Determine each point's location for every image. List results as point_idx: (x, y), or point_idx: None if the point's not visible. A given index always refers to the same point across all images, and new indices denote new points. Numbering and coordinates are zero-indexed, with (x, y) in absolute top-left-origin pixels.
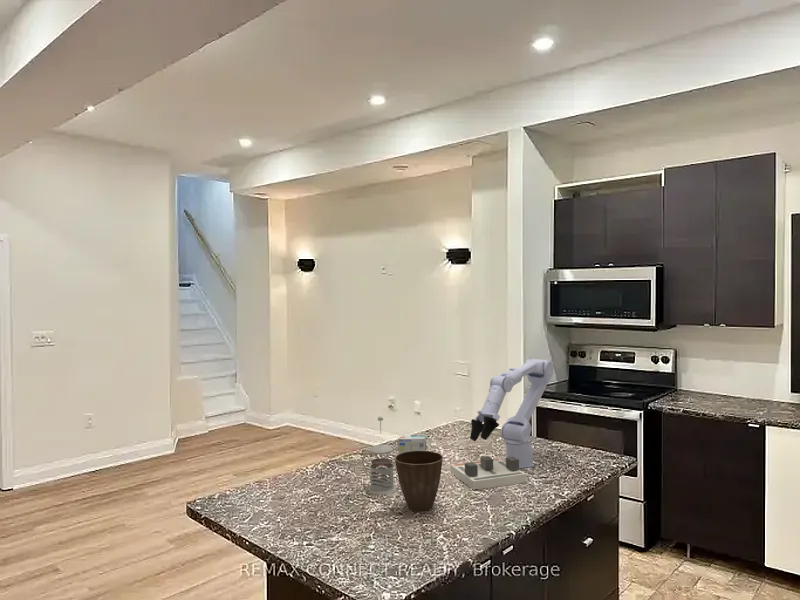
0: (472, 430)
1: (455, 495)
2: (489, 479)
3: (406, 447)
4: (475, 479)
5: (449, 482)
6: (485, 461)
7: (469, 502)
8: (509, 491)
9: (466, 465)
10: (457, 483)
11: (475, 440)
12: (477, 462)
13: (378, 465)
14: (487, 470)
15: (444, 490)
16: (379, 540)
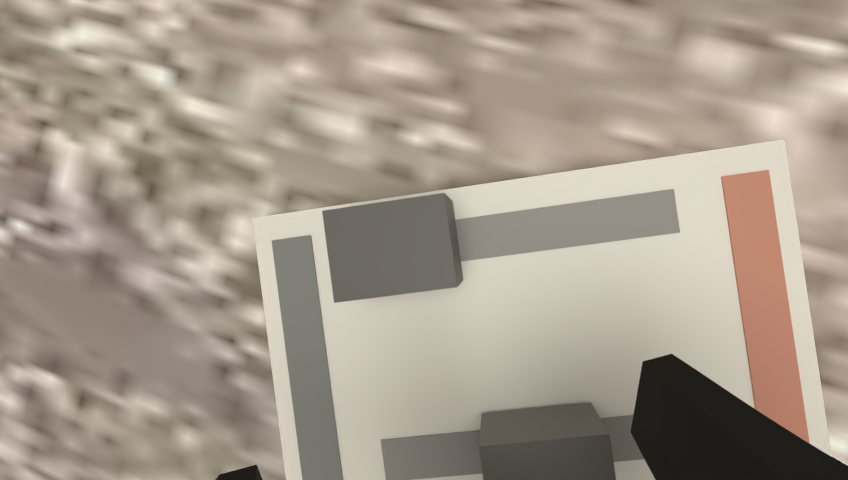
0: (776, 471)
1: (214, 64)
2: (272, 366)
3: None
4: (284, 246)
5: (496, 85)
6: (479, 441)
7: (71, 125)
8: (194, 465)
9: (399, 200)
10: (456, 142)
11: (635, 437)
12: None
13: None
14: None
15: (330, 7)
16: None
